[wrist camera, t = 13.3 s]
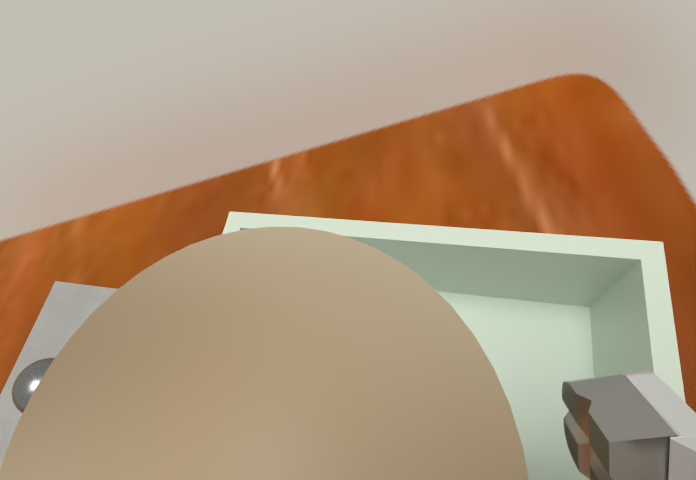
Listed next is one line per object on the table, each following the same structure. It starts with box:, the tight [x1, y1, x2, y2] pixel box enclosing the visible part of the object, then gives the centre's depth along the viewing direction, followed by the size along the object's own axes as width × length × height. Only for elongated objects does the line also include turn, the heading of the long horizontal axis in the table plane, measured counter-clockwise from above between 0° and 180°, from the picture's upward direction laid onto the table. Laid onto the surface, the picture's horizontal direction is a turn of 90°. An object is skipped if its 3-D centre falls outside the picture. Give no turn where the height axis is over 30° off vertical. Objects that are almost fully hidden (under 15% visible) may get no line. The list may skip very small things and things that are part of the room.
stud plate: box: [0, 281, 118, 469], centre depth 22 cm, size 12×12×6 cm
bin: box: [223, 212, 685, 480], centre depth 18 cm, size 18×18×7 cm
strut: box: [0, 227, 529, 480], centre depth 11 cm, size 5×5×19 cm
